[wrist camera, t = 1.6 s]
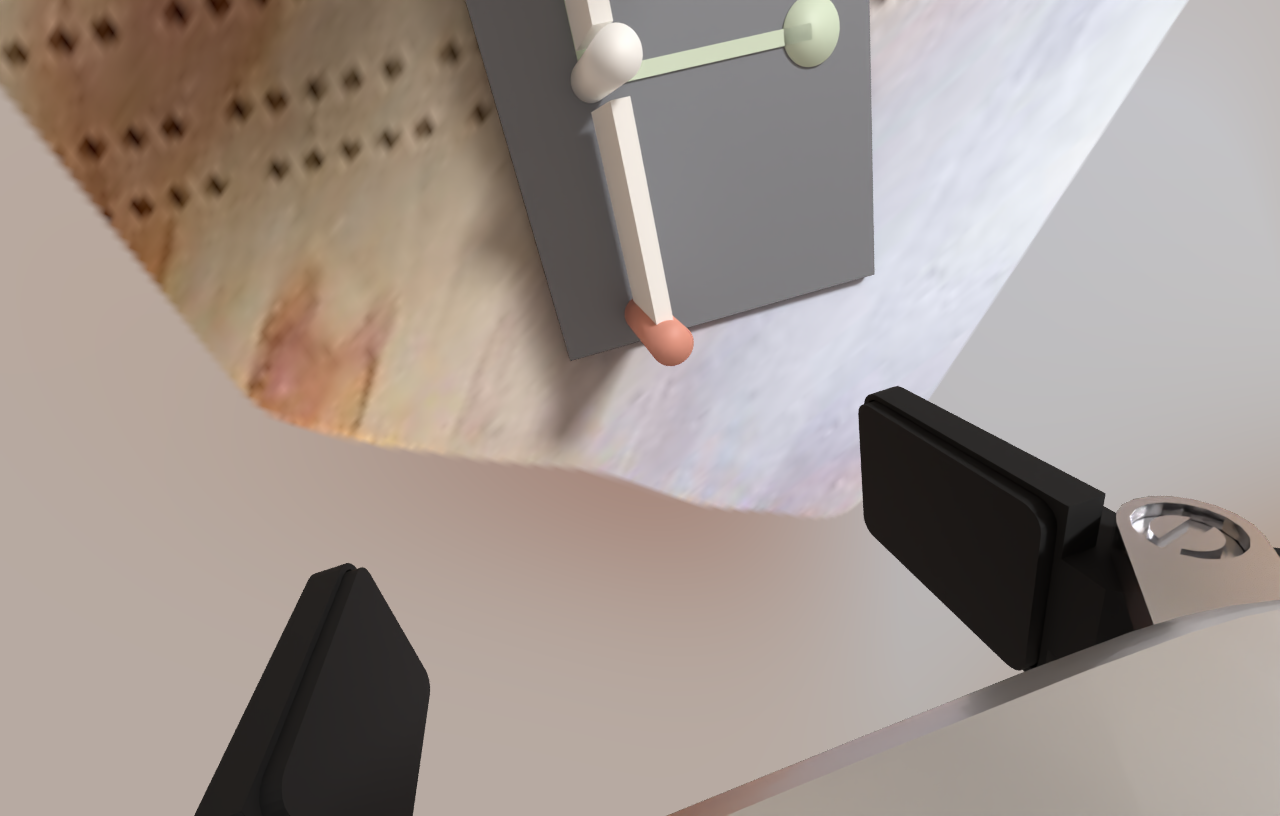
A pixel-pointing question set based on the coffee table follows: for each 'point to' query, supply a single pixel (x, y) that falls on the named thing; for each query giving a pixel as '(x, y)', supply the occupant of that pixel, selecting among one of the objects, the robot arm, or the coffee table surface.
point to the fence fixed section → (601, 50)
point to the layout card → (694, 153)
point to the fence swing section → (638, 235)
